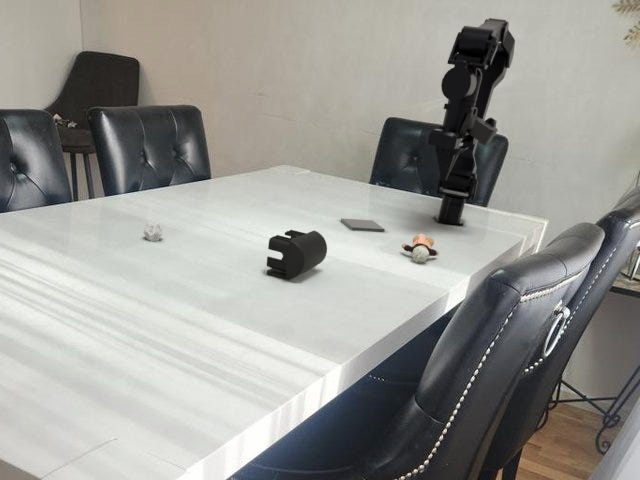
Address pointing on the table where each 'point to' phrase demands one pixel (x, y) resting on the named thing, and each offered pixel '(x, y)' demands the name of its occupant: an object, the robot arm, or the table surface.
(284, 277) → the end cap
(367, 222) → the slate coaster
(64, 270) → the table surface
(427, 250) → the grandmother figurine
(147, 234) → the whitish grey rough lump
